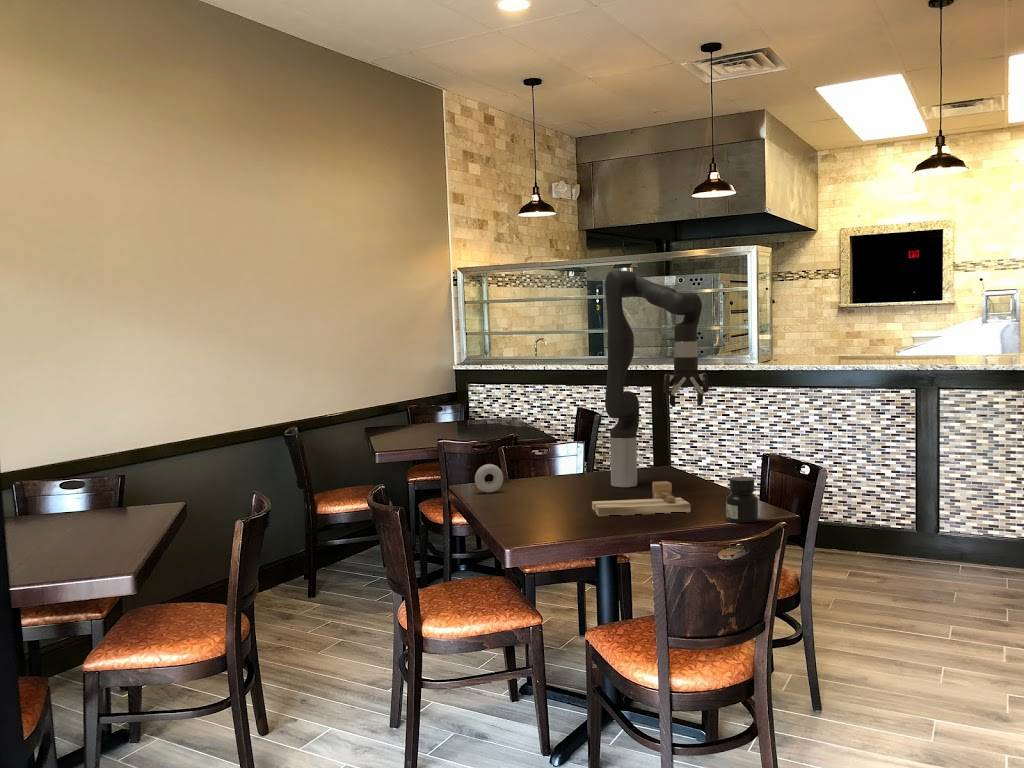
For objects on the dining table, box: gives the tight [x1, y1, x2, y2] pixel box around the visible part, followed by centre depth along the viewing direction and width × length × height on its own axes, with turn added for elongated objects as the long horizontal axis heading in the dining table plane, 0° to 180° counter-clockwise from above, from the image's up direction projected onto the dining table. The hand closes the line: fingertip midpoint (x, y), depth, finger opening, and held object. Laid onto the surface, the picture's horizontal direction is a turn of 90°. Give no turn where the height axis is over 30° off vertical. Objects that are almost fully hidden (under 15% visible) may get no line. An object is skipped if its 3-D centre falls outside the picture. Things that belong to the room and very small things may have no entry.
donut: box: [474, 463, 504, 494], centre depth 294 cm, size 10×4×10 cm, turn 105°
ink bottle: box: [725, 476, 759, 524], centre depth 245 cm, size 10×9×12 cm
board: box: [591, 497, 692, 517], centre depth 260 cm, size 10×28×2 cm, turn 96°
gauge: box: [652, 480, 676, 503], centre depth 265 cm, size 14×5×7 cm, turn 6°
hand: (686, 406), depth 274 cm, fingers open, 8 cm apart
